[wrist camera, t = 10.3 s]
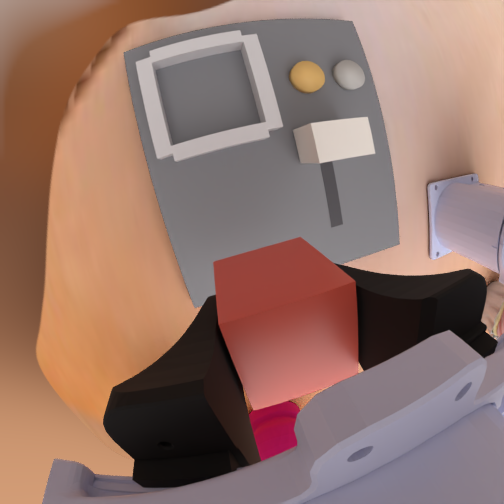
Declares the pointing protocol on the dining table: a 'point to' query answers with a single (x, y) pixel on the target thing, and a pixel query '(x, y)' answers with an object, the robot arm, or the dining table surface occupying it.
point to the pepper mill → (274, 428)
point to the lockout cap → (287, 320)
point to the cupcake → (494, 309)
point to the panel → (260, 142)
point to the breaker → (334, 140)
